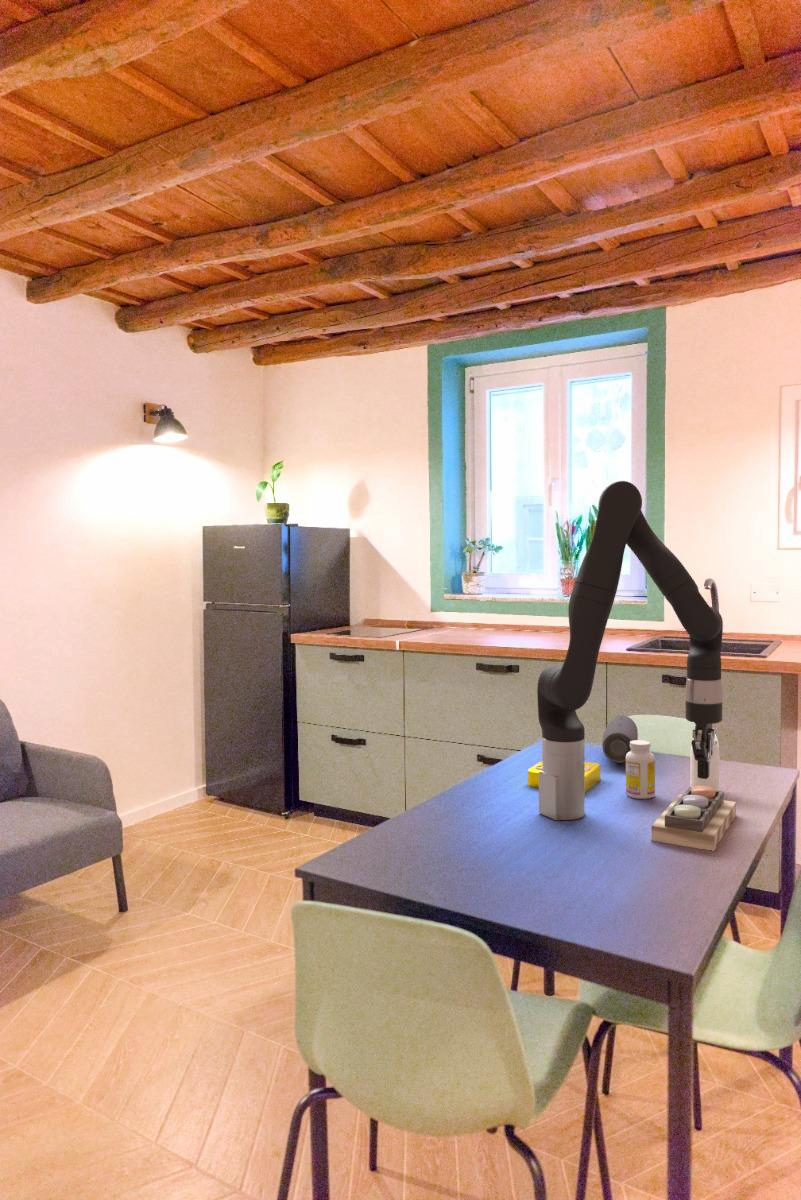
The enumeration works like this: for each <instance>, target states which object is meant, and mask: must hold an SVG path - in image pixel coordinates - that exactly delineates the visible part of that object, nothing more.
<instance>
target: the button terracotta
mask: <svg viewBox="0 0 801 1200" xmlns="http://www.w3.org/2000/svg"><path fill="white" fill-rule="evenodd" d="M691 795H700V796H704V797H706V798H710V799H715V789H714V788H712V787H708V786H693V787H691Z"/></svg>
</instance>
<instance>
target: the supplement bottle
mask: <svg viewBox="0 0 801 1200" xmlns="http://www.w3.org/2000/svg"><path fill="white" fill-rule="evenodd" d="M630 748H631V751H630V752H628V753H627V754H626V762H625V792H626V793H625V794H626V795H627V796H628V797H630V798H633V799H638V800H639V799H640V800H642V799H643V800H649V799H652V798H654V797H655V794H656V764H655V763H656V762H655V761H656V757H655V755H654V754H653V753H652V752H651V750H650V749H651V742H650V741H648V740H643V739H638V740H633V741H630Z"/></svg>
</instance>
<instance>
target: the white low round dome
mask: <svg viewBox="0 0 801 1200" xmlns="http://www.w3.org/2000/svg"><path fill="white" fill-rule="evenodd" d="M683 805H693V806H696V807H699V808H703V809H708V798H706V797H704V796H700V795H686V796H684V797H683Z"/></svg>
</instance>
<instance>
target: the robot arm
mask: <svg viewBox="0 0 801 1200" xmlns="http://www.w3.org/2000/svg"><path fill="white" fill-rule="evenodd" d="M598 499H599V500H598V507H597V509H598V510H597V515H596V521H595V525H594V530H593V534H592V537H591V541H590V543H589V545H588V548H587V549H586V552H585V555H584V557H583V559H582V562H581V564H580V567H579V569H578V572H577V575H576V578H575V581H574V583H573V588H572V591H571V593H570V597H569V600H568V610H567V611H568V624H569V625H568V626H569V643H568V648H567V652H566V654H565V658H564V661H563V664H561V663H553V664H549V665H547V666H546V667H545V668H544V669H543V670H542V671H541V673H539V677H538V680H537V687H536V690H537V712H538V713H537V714H538V723H539V725H540V728H541V737H542V738H541V740H542V741H541V745H542V747H541V748H542V749H541V753H542V754H541V755H542V756H541V759H542V760H541V761H542V771H539V788H538V813H539V814H541V815H543V816H544V817H548V818H549V819H551V820H555V821H560V820H563V821H570V820H571V821H572V820H578V819H581V818H583V817H584V816H585V813H586V812H585V811H586V810H585V807H586V806H585V803H586V801H585V799H586V798H585V797H586V796H585V795H586V794H585V793H586V792H585V762H586V760H585V759H586V758H585V754H586V753H585V751H586V750H585V747H586V746H585V742H586V741H585V740H586V739H585V735H586V734H585V726H584V724H583V723H582V721H581V720H580V719H579V717H578V714H577V710H579V709H581V708H582V707H583V706H584V705H585V704H586V703H587V701H588V700H589V698H590V696H591V692H592V690H593V684H594V681H595V680H594V679H595V674H596V668H597V662H598V657H599V653H600V649H601V646H602V642H603V640H604V639H603V638H604V634H605V631H606V627H607V625H608V621H609V617H610V615H611V611H612V609H613V605H614V601H615V598H616V595H617V591H618V587H619V583H620V577H621V573H622V569H623V568H622V567H623V560H624V555H625V549H626V546H628V548H629V549H630V550H631V551H632V553H633V554H634V555H635V556H636V558H637V559H638V561H639V562H640V563H641V565H642V567H643V568H644V570H645V571H646V573H648V575H649V577H650V578H651V580H652V581H653V584H655V585H656V587H657V588H658V590H659V591H660V592H661V594H662V595H663V596H664V598H665V600H667V602H668V604H669V605H670V606H671V607H672V609H673V611H674V614H675V615H676V617H677V619H678V621H679V622H680V625H682V627H683V629H684V630H685V632H686V633H687V634H688V635H689V650H688V654H687V656H686V657H687V658H686V682H685V705H684V706H685V713H684V714H685V715H684V716H685V720H686V721H687V722H690V723H694V724H695V727H694V729H692V733H691V734H692V738H693V739H692V740H691V744H690V745H692V748H693V753H694V758H695V760H697V761H698V773H697V776H698V778H702V779H707V778H708V777H709V760H710V759H711V756H712V754H713V744H714V740H715V738H716V737H715V735H716V730H715V728H713V724H714V725H715V724H719V723H722V721H723V684H722V683H723V682H722V657H721V655H722V654H721V653H722V643H723V633H724V623H723V622H724V621H723V617H722V614H720V612H719V610H717V609H716V608H714V607H712V606H710V605H709V604H708V602H707V601H706V600H705V599H704V596H703V595H702V594H701V593H700V590H699V587H698V585H697V583H696V581H695V580H694V578H693V577H692V575H691V574H690V573H689V571H688V570H687V568H686V567H685V566H684V564H683V563H682V562H681V560H679V558H678V557H677V556H676V555H675V554H674V553H673V552H672V551H671V549H669V548H668V547H667V545H666V544H664V543H663V542H662V540H661V539H660V538H659V537H658V535H656V533H655V531H654V530H653V529H652V528H651V526H650V525H649V523H648V521H647V519H646V517H645V516H644V513H643V511H642V508H643V497H642V495H641V492H640V491H639V489H638V488H637V486H636V485H635V484H633V483H632V482H630V481H627V480H618V481H615V482H613V483H610V484H609V485H608V486H606V487H605V488H604V489H603V490H602V492H601V494H600V496H599V498H598Z"/></svg>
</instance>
